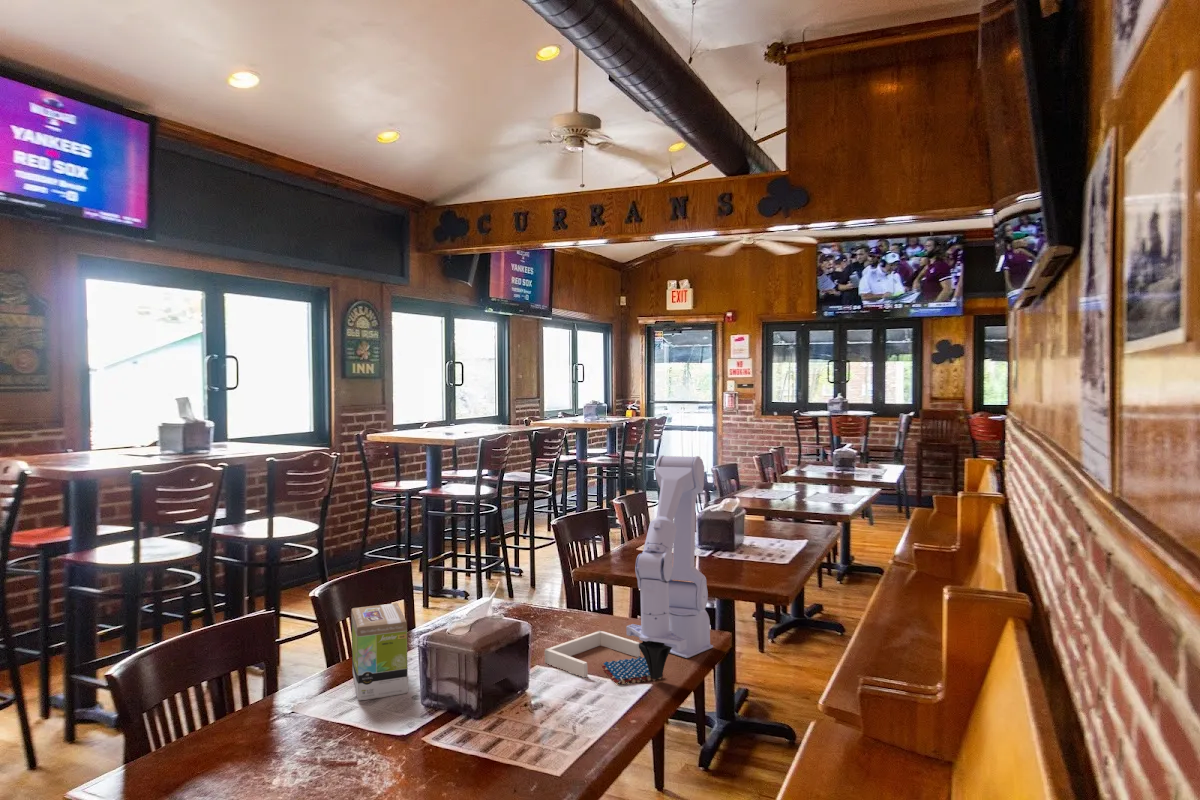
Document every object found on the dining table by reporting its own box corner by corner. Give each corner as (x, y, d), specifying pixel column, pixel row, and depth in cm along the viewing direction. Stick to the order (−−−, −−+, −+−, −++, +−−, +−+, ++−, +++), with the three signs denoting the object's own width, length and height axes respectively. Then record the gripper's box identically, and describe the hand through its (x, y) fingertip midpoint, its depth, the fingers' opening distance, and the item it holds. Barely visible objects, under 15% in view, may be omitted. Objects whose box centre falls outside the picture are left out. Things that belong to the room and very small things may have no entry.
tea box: (410, 693, 155) (407, 620, 155) (357, 702, 152) (354, 627, 151) (400, 668, 169) (397, 600, 169) (351, 675, 166) (349, 606, 165)
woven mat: (600, 670, 166) (600, 661, 166) (647, 664, 169) (646, 654, 169) (615, 688, 156) (615, 678, 156) (664, 681, 159) (664, 671, 159)
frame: (600, 643, 182) (600, 630, 182) (640, 656, 173) (639, 642, 173) (545, 663, 170) (544, 649, 170) (584, 678, 161) (583, 663, 161)
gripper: (615, 608, 160) (617, 673, 160) (669, 623, 150) (671, 693, 150) (638, 600, 165) (640, 664, 165) (692, 614, 154) (694, 682, 155)
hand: (656, 677), depth 158 cm, fingers closed
